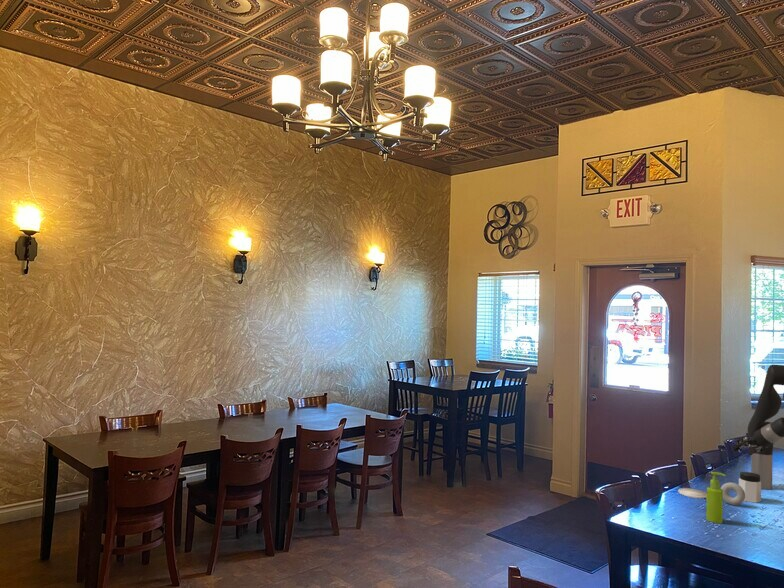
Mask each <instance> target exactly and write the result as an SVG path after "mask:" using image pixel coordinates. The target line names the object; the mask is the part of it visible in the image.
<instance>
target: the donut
mask: <svg viewBox="0 0 784 588" xmlns="http://www.w3.org/2000/svg"><path fill="white" fill-rule="evenodd" d="M720 489H722V490H723V502H725V503H727V504H728V505H731V506H738V505H741V504H743V503H744V502H745V501H744V500H745V492H744V490H743V489H742V487H741V486H739V483H735V482H730V481H729V482H726V483H724V484H722V485H721V487H720ZM730 491H733V492H735V493H736V495H735V496H734V497H732V496H730V493H729V492H730Z"/></svg>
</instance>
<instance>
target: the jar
mask: <svg viewBox="0 0 784 588" xmlns="http://www.w3.org/2000/svg"><path fill="white" fill-rule="evenodd" d="M738 485H739V486H741V487H742V489H743V490H744V492H745V500H744V501H743V502H746V503H747V502H748V503H753V502H754V504H758V503H760V502H762V489H761V481H760V475H758V474H755V473H751V471H750V472H749V471H740V472H739V478H738Z"/></svg>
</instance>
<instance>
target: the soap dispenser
mask: <svg viewBox="0 0 784 588" xmlns="http://www.w3.org/2000/svg"><path fill="white" fill-rule="evenodd" d="M711 475H712V478H711V479H709V480H710V482H709V483H710V485H709V486H707V487H706V493H707V498H706V507H705V508H706V513H705V514H706V517H705V520H706V519H707V520H708V521H707V520H706V521H707V522H709V521H711V522H710V523H713V522H714V523H713V524H723V515H724V514H723V510H724V509H723V506H724V505H723V504H724V500H723V490H722V489H721V487H720V480H718V476H723V477H726V476H727V474H726V473H723V472H718V471H711Z"/></svg>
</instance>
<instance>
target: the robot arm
mask: <svg viewBox="0 0 784 588" xmlns="http://www.w3.org/2000/svg"><path fill="white" fill-rule="evenodd" d="M775 385H777V386H784V365H783V364H770V365H769V366H768V368H767V371H766V375H765V379H764V383H763V386H762V389H761V393H760V395H759V397H758V401H757V403H756V407H755V410H754V412H753V414H752V417H751V418H750V420H749V422H748V424H747V435H748V436H747V435H744V436H742V437H740V438H738V439H736V440H735V445H733V446H732V447H731V448H732V451H733V452H738V451H740V450H741V449H743V448H746V449H748V448H750V449H748V450H747V454H748V456H750V472H751V473H755V474H758V475H760V481H761V490H772V489H773V468H774V467H773V465H774V464H773V459H774V457H773V454H774V453H773V451H774V444H775V443H777V442H779V441H780V440H782V439H784V417H782V416H781V417H779V418H777V419H775V420H774V421H768V420H770V419H772V418H773V417H775V416H776V415H777V414H778V413H779V411H780V409H781V406H782V404H783V402H782V399H783V401H784V392H782V393H783V394H782V398H781V395H780V394H779V393H778V391H777V390H776V389H775Z"/></svg>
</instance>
